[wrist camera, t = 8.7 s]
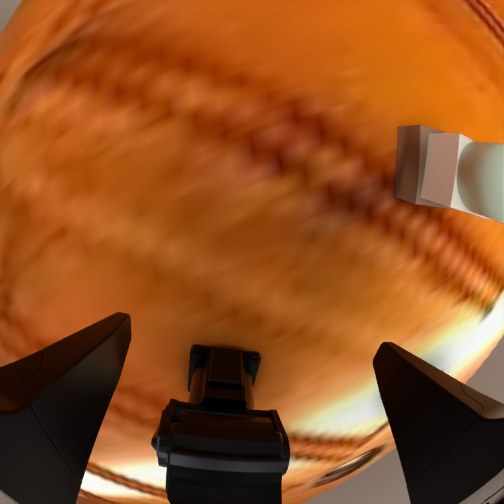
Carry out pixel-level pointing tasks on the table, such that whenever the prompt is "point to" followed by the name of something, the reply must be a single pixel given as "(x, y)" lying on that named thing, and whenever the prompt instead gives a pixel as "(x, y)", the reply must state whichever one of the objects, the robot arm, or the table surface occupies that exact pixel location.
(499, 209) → the grey domed cylinder
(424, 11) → the table surface
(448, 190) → the tower top block
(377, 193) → the table surface
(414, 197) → the tower base block
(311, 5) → the table surface
